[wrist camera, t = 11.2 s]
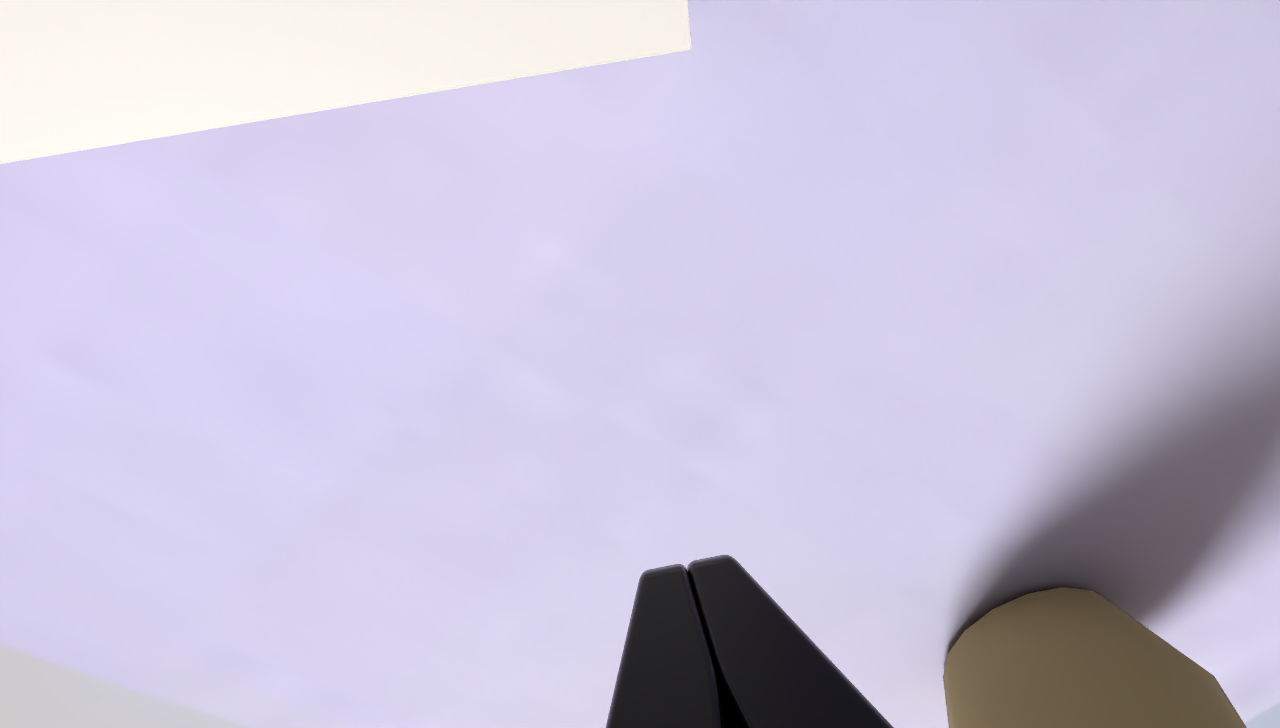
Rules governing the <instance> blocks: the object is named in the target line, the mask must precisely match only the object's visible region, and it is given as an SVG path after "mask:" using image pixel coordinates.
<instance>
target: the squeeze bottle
mask: <svg viewBox="0 0 1280 728" xmlns="http://www.w3.org/2000/svg"><path fill="white" fill-rule="evenodd" d="M943 680H944V689H945V698H946V706H947V715H948V724H949V728H1246V726H1245V724H1244V723H1243V721H1242V720H1241V718H1240V716H1239V715H1238V713H1237V712H1236V710H1235V709H1234V707H1233V705H1232V704H1231V702H1230V701H1229V699H1228V697H1227V696H1226V694H1225V693H1224V691H1223V689H1222V688H1221V686H1220V685H1219V683H1218V681H1217V680H1216V678H1215V677H1214V676H1213V675H1212V674H1210V673H1209V672H1208V671H1206V670H1205V669H1203V668H1202V667H1201V666H1199V665H1198V664H1196V663H1195V662H1194V661H1192V660H1191V659H1189V658H1188V657H1187V656H1185V655H1184V654H1182V653H1181V652H1180V651H1178V650H1177V649H1175V648H1174V647H1173V646H1171V645H1170V644H1168V643H1167V642H1166V641H1164V640H1163V639H1162V638H1160V637H1159V636H1157V635H1156V634H1155V633H1153V632H1152V631H1150V630H1149V629H1148V628H1146V627H1145V626H1143V625H1142V624H1141V623H1139V622H1138V621H1136V620H1135V619H1134V618H1132V617H1131V616H1129V615H1128V614H1127V613H1125V612H1124V611H1122V610H1121V609H1120V608H1118V607H1117V606H1115V605H1114V604H1113V603H1111V602H1110V601H1108V600H1107V599H1105V598H1104V597H1102V596H1100V595H1099V594H1097V593H1096V592H1094V591H1093V590H1084V589H1075V588H1067V587H1061V588H1055V589H1050V590H1045V591H1039V592H1034V593H1028V594H1026V595H1023V596H1021V597H1019V598H1017V599H1014V600H1012V601H1010V602H1008V603H1005V604H1003V605H1001V606H999V607H996V608H994V609H992V610H991V611H989V612H988V613H987V614H986V615H984V616H983V617H982V618H980V619H979V620H978V621H976V622H975V623H974V624H973V625H971V626H970V627H969V628H967V629H966V630H965V631H964V632H963V633H962V635H961V636H960V637H959V639H958V640H957V642H956V643H955V644H954V646H953V647H952V649H951V650H950V651H949V653H948V654H947V657H946V663H945V669H944V675H943Z"/></svg>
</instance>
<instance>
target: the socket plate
mask: <svg viewBox="0 0 1280 728" xmlns="http://www.w3.org/2000/svg"><path fill="white" fill-rule="evenodd" d="M685 50H691V41H690V29H689V16H688V4H687V0H0V164H3V163H9V162H15V161H21V160H27V159H33V158H39V157H45V156H51V155H57V154H63V153H69V152H75V151H81V150H87V149H93V148H99V147H105V146H111V145H118V144H124V143H130V142H136V141H142V140H148V139H154V138H160V137H166V136H172V135H178V134H184V133H190V132H196V131H202V130H208V129H214V128H220V127H226V126H232V125H238V124H244V123H250V122H256V121H262V120H268V119H274V118H280V117H287V116H293V115H299V114H305V113H311V112H317V111H323V110H329V109H335V108H341V107H347V106H353V105H359V104H365V103H371V102H377V101H383V100H389V99H395V98H401V97H407V96H413V95H419V94H425V93H431V92H437V91H443V90H449V89H456V88H462V87H468V86H474V85H480V84H486V83H492V82H498V81H504V80H510V79H516V78H522V77H528V76H534V75H540V74H546V73H552V72H558V71H564V70H570V69H576V68H582V67H588V66H594V65H600V64H606V63H612V62H619V61H625V60H631V59H637V58H643V57H649V56H655V55H661V54H667V53H673V52H679V51H685Z"/></svg>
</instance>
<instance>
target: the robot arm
mask: <svg viewBox="0 0 1280 728" xmlns="http://www.w3.org/2000/svg"><path fill="white" fill-rule="evenodd" d="M606 728H893V727H892V725H891V724H890V723H889V722H888V721H887V720H886V719H885V718H884V717H883V716H882V715H881V714H880V713H879V712H878V711H877V710H876V708H875V707H874V706H873V705H872V704H871V703H870V702H869V701H868V700H867V699H866V698H865V697H864V696H863V695H862V694H861V693H860V691H859V690H858V689H857V688H856V687H855V686H854V685H853V684H852V683H851V682H850V681H849V680H848V679H847V678H846V677H845V675H844V674H843V673H842V672H841V671H840V670H839V669H838V668H837V667H836V666H835V665H834V664H833V663H832V662H831V661H830V660H829V658H828V657H827V656H826V655H825V654H824V653H823V652H822V651H821V650H820V649H819V648H818V647H817V646H816V645H815V644H814V642H813V641H812V640H811V639H810V638H809V637H808V636H807V635H806V634H805V633H804V632H803V631H802V630H801V629H800V628H799V627H798V625H797V624H796V623H795V622H794V621H793V620H792V619H791V618H790V617H789V616H788V615H787V614H786V613H785V612H784V611H783V610H782V608H781V607H780V606H779V605H778V604H777V603H776V602H775V601H774V600H773V599H772V598H771V597H770V596H769V595H768V594H767V592H766V591H765V590H764V589H763V588H762V587H761V586H760V585H759V584H758V583H757V582H756V581H755V580H754V579H753V578H752V577H751V575H750V574H749V573H748V572H747V571H746V570H745V569H744V568H743V567H742V566H741V565H740V564H739V563H738V562H737V561H736V560H735V559H734V558H733V557H731V556H729V555H720V556H715V557H710V558H705V559H700V560H695V561H692V562H691V563H690V564H689V565H688V567H687V569H686V568H685V567H684V566H683V565H681V564H675V565H670V566H665V567H660V568H655V569H650V570H647V571H645V572H643V573H642V575H641V577H640V580H639V583H638V588H637V592H636V597H635V601H634V606H633V610H632V614H631V619H630V623H629V628H628V632H627V636H626V641H625V645H624V650H623V654H622V659H621V663H620V667H619V672H618V676H617V681H616V685H615V689H614V694H613V698H612V703H611V707H610V712H609V716H608V720H607V725H606Z"/></svg>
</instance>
